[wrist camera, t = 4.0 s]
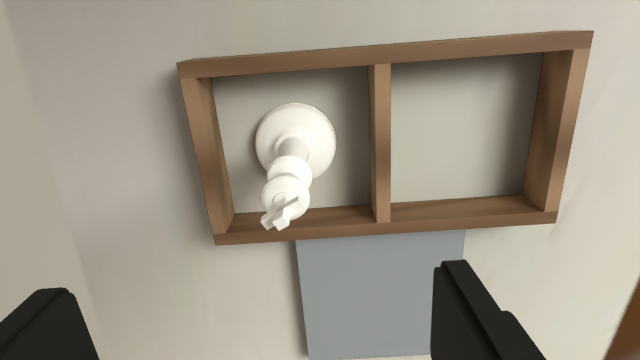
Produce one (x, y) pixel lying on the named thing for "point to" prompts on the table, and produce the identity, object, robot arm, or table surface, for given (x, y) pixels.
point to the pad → (371, 292)
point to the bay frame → (382, 216)
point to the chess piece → (292, 159)
